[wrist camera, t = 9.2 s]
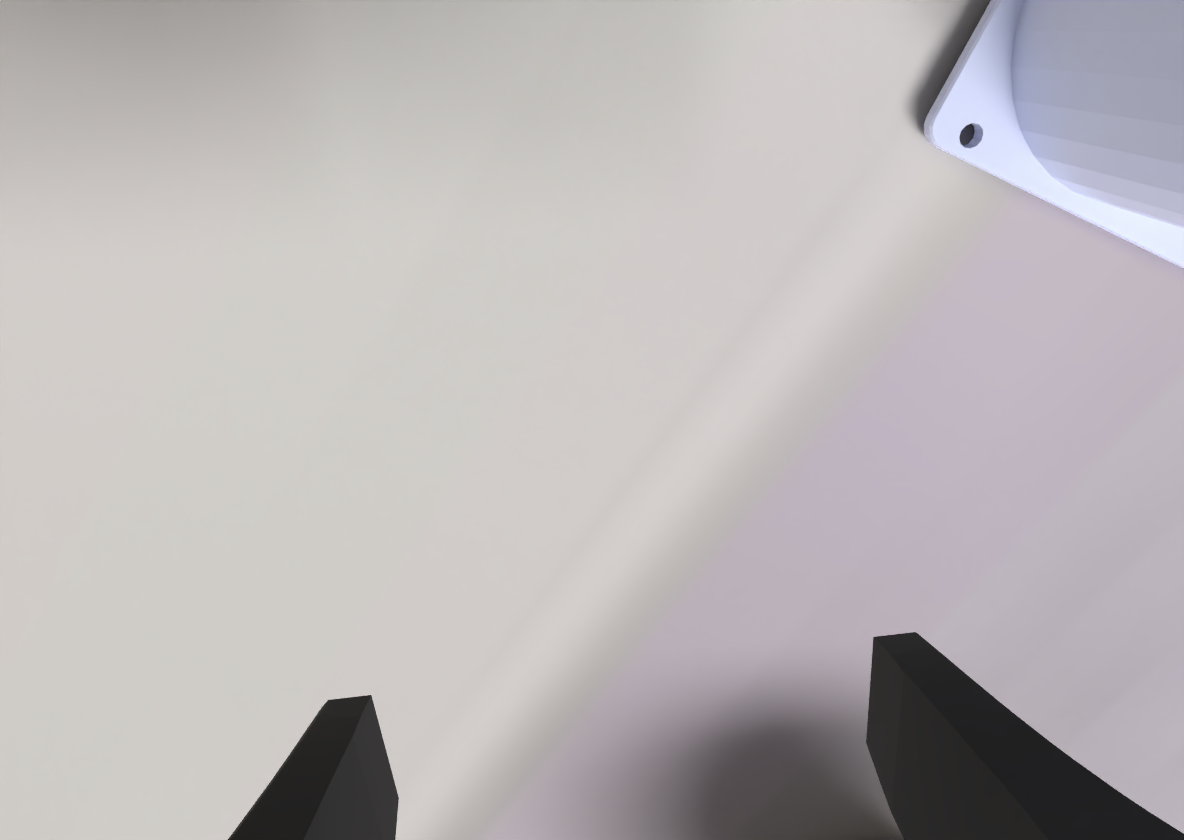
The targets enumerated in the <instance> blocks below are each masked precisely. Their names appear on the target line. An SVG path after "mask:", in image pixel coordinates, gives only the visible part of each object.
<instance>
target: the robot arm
mask: <svg viewBox="0 0 1184 840" xmlns="http://www.w3.org/2000/svg"><path fill="white" fill-rule="evenodd" d="M968 124H972V125H973V126H974V130H975V133H974V136H973V139H972V140H971V141H970V142H969V143H968V144H966V145H964V146H962V145H961V144H960V139H959V136H960V133H961V131H962V129H963V128H964V127H965V126H966V125H968ZM924 135H925V137H926V140H927V142H929V143H930V144H931V145H932V146H934V147H936V148H938V149H940V150H942V151H944V152H946V153H948V154H950V155H952V156H954V157H956V158H958V159H960V160H962V161H964V162H966V163H968V164H970V165H972V166H974V167H977V168H979V169H981V170H983V171H985V172H987V173H989V174H991V175H993V176H995V177H997V178H999V179H1001V180H1003V181H1005V182H1007V183H1009V184H1011V185H1013V186H1015V187H1017V188H1019V189H1021V190H1024V191H1026V192H1028V193H1030V194H1032V195H1034V196H1036V197H1038V198H1040V199H1042V200H1044V201H1046V202H1048V203H1050V204H1052V205H1054V206H1056V207H1058V208H1060V209H1062V210H1064V211H1066V212H1069V213H1071V214H1073V215H1075V216H1077V217H1079V218H1081V219H1083V220H1085V221H1087V222H1089V223H1091V224H1093V225H1095V226H1097V227H1099V228H1101V229H1103V230H1105V231H1107V232H1109V233H1111V234H1113V235H1116V236H1118V237H1120V238H1122V239H1124V240H1126V241H1128V242H1130V243H1132V244H1134V245H1136V246H1138V247H1140V248H1142V249H1144V250H1146V251H1148V252H1150V253H1152V254H1154V255H1156V256H1158V257H1160V258H1163V259H1165V260H1167V261H1169V262H1171V263H1173V264H1175V265H1177V266H1179V267H1181V268H1183V269H1184V0H991V1H990V3H989V5H988V7H987V8H986V10H985V12H984V14H983V16H982V17H981V19H980V21H979V23H978V25H977V26H976V28H975V30H974V32H973V34H972V35H971V37H970V39H969V41H968V43H967V44H966V46H965V48H964V50H963V52H962V53H961V55H960V57H959V59H958V61H957V62H956V64H955V66H954V68H953V70H952V71H951V73H950V75H949V77H948V79H947V80H946V82H945V84H944V86H943V88H942V89H941V91H940V93H939V95H938V97H937V98H936V100H935V102H934V104H933V106H932V107H931V109H930V111H929V113H928V115H927V117H926V120H925V122H924ZM866 743H867V746H868V749H869V752H870V755H871V757H872V760H873V763H874V766H875V769H876V772H877V775H878V778H879V780H880V783H881V786H882V789H883V791H884V794H885V797H886V799H887V802H888V805H889V807H890V810H891V813H892V815H893V817H894V819H895V821H896V823H897V825H898V827H899V829H900V831H901V833H902V835H903V837H904V839H905V840H1184V834H1183V833H1181V832H1180V831H1178V830H1177V829H1175V828H1173V827H1172V826H1170V825H1169V824H1167V823H1166V822H1164V821H1162V820H1161V819H1159V818H1158V817H1156V816H1154V815H1153V814H1151V813H1150V812H1148V811H1147V810H1145V809H1144V808H1142V807H1141V806H1139V805H1138V804H1136V803H1135V802H1133V801H1132V800H1130V799H1129V798H1127V797H1126V796H1124V795H1123V794H1121V793H1120V792H1118V791H1117V790H1115V789H1114V788H1113V787H1111V786H1110V785H1108V784H1107V783H1106V782H1104V781H1103V780H1101V779H1100V778H1099V777H1097V776H1096V775H1094V774H1093V773H1092V772H1090V771H1089V770H1087V769H1086V768H1085V767H1083V766H1082V765H1080V764H1079V763H1078V762H1076V761H1075V760H1073V759H1072V758H1071V757H1069V756H1068V755H1067V754H1065V753H1064V752H1063V751H1061V750H1060V749H1059V748H1057V747H1056V746H1055V745H1053V744H1052V743H1051V742H1049V741H1048V740H1047V739H1046V738H1044V737H1043V736H1042V735H1040V734H1039V733H1038V732H1037V731H1035V730H1034V729H1033V728H1032V727H1030V726H1029V725H1028V724H1026V723H1025V722H1024V721H1023V720H1021V719H1020V718H1019V717H1017V716H1016V715H1015V714H1014V713H1012V712H1011V711H1010V710H1009V709H1008V708H1006V707H1005V706H1004V705H1003V704H1001V703H1000V702H999V701H998V700H996V699H995V698H994V697H993V696H992V695H990V694H989V693H988V692H987V691H986V690H984V689H983V688H982V687H981V686H980V685H978V684H977V683H976V682H975V681H974V680H972V679H971V678H970V677H969V676H968V675H966V674H965V673H964V672H963V671H962V670H960V669H959V668H958V667H957V666H956V665H954V664H953V663H952V662H951V661H950V660H948V659H947V658H946V657H945V656H944V655H943V654H941V653H940V652H939V651H938V650H937V649H935V648H934V647H933V646H932V645H931V644H929V643H928V642H927V641H926V640H925V639H923V638H922V637H921V636H920V635H919V634H917V633H916V632H913V633H904V634H896V635H887V636H878V637H874V639H873V653H872V668H871V682H870V697H869V711H868V726H867V740H866ZM398 799H399V798H398V794H397V790H396V786H395V783H394V779H393V775H392V771H391V768H390V764H389V760H388V756H387V753H386V749H385V745H384V741H383V738H382V734H381V730H380V726H379V723H378V719H377V715H376V711H375V708H374V704H373V700H372V696H371V695H368V696H360V697H351V698H342V699H334V700H328V701H327V702H326V703H325V704H324V706H323V707H322V708H321V710H320V711H319V712H318V714H317V715H316V717H315V718H314V720H313V721H312V723H311V724H310V726H309V727H308V729H307V730H306V731H305V733H304V734H303V736H302V737H301V739H300V740H299V742H298V743H297V745H296V746H295V748H294V749H293V750H292V752H291V753H290V755H289V756H288V758H287V759H286V761H285V762H284V763H283V765H282V766H281V768H280V769H279V771H278V772H277V773H276V775H275V776H274V778H273V779H272V781H271V782H270V783H269V785H268V786H267V788H266V789H265V790H264V792H263V793H262V794H261V796H260V797H259V798H258V800H257V801H256V802H255V804H254V805H253V807H252V808H251V809H250V811H249V812H248V813H247V815H246V816H245V817H244V819H243V820H242V822H241V823H240V824H239V826H238V827H237V828H236V830H235V831H234V832H233V834H232V835H231V836H230V838H229V839H228V840H395V835H396V823H397V811H398Z"/></svg>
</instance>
